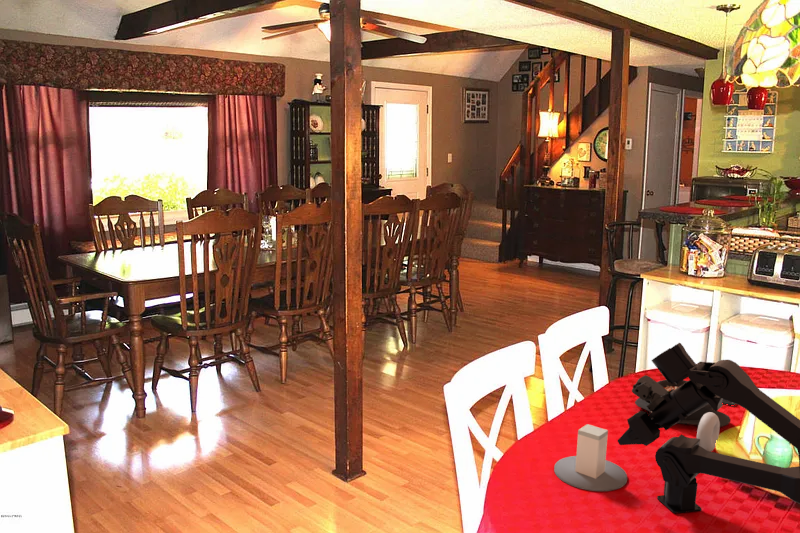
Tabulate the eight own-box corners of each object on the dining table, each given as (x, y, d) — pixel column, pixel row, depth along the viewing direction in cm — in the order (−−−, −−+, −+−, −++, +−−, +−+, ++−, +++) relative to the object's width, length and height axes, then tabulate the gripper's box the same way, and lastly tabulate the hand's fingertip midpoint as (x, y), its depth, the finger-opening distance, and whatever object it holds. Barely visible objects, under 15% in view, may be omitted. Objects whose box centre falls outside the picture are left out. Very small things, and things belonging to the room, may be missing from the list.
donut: (704, 443, 180) (708, 405, 178) (719, 447, 178) (723, 409, 176) (692, 456, 172) (696, 417, 170) (707, 460, 170) (711, 421, 168)
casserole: (622, 413, 198) (625, 384, 197) (651, 396, 212) (654, 369, 210) (714, 440, 182) (718, 409, 180) (740, 421, 195) (743, 391, 193)
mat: (640, 488, 156) (641, 485, 156) (573, 494, 153) (573, 491, 152) (605, 455, 171) (605, 453, 171) (542, 460, 168) (543, 458, 168)
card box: (604, 471, 162) (608, 430, 160) (595, 478, 158) (599, 436, 157) (584, 464, 165) (587, 424, 163) (575, 471, 162) (578, 429, 160)
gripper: (675, 358, 155) (622, 393, 164) (641, 378, 141) (585, 416, 150) (709, 401, 152) (653, 435, 161) (677, 427, 138) (618, 463, 147)
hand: (627, 436), depth 155 cm, fingers open, 9 cm apart
